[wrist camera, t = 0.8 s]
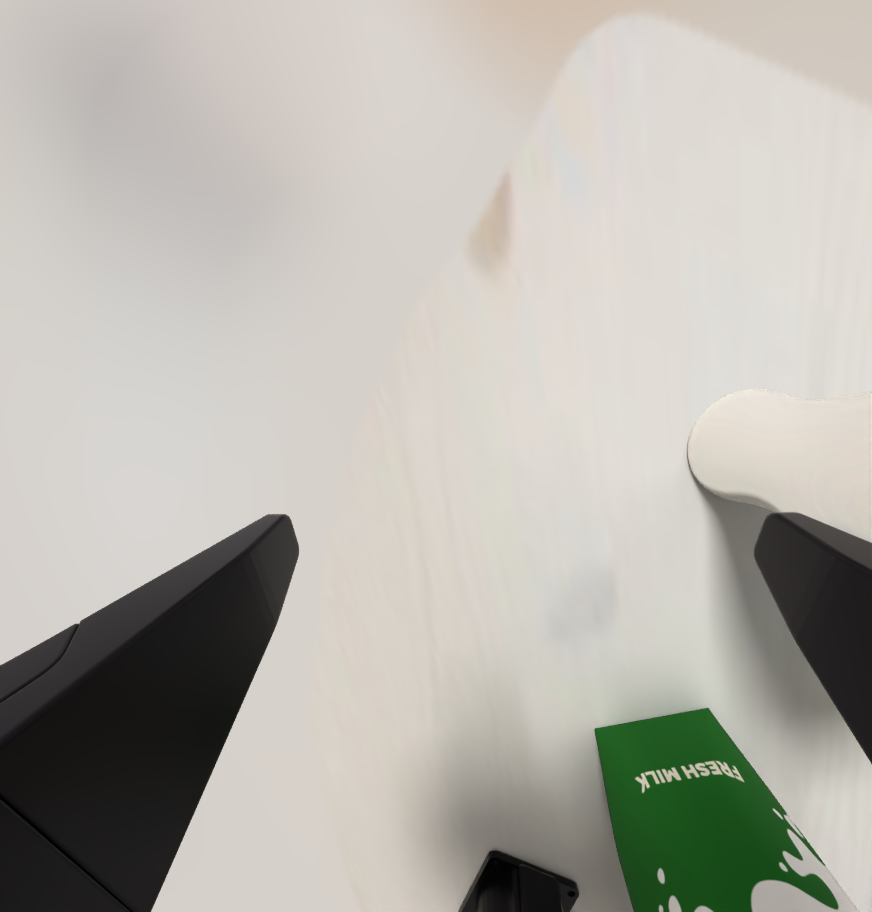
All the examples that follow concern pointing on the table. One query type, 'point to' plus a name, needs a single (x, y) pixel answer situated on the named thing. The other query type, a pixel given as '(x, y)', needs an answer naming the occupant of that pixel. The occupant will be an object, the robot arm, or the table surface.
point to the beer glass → (789, 455)
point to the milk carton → (704, 824)
